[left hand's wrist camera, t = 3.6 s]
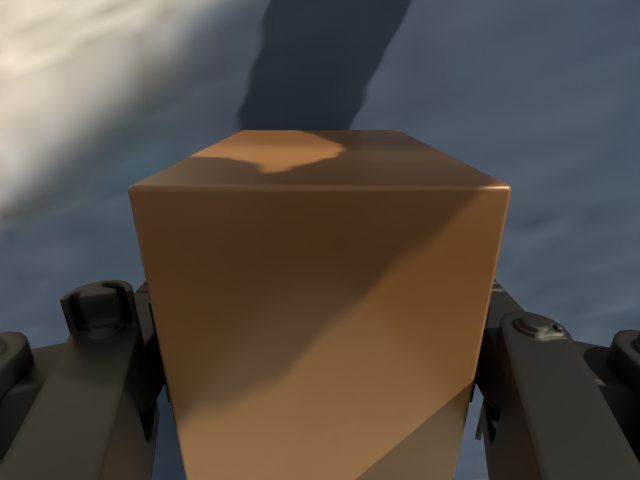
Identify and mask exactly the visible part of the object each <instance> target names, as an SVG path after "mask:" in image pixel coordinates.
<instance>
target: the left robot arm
mask: <svg viewBox="0 0 640 480" xmlns="http://www.w3.org/2000/svg"><path fill="white" fill-rule="evenodd" d="M60 302H61V305H62V309H63V312H64V315H65V319H66V322H67V325H68V328H69V332H70V336H69V338H68V340H67V342H66V343H62V344H57V345H51V346H46V347H41V348H35V349H31V348H30V345H29V343H28V340H27V337H26V336H25V335H23V334H22V333H20V332H11V331H9V332H1V333H0V480H151V477H152V469H153V461H154V454H155V446H156V438H157V430H158V423H159V408H158V403H157V397H158V395H159V393H160V392H161V390H162V388H163V386H164V384H165V388H166V393H167V398H168V402H171V401H170V396H169V391H168V386H167V381H166V376H165V371H164V366H163V361H162V356H161V351H160V346H159V341H158V336H157V332H156V327H155V322H154V317H153V312H152V307H151V302H150V297H149V292H148V287H147V282H146V281H145V282H144V283H143V285H141V286H140V288H139V289H138V290H137V291H136V293H133V289H132V285H131V284H129V283H128V282H125V281H120V280H105V281H100V282H94V283H90V284H87V285H84V286H81V287H78V288H76V289H75V290H73V291H71V292H69V293H67V294H66V295H65V296H64V297H63V298H62V299H61V300H60ZM475 384H477V385H478V387H479V389H480V391H481V393H482V395H483V397H484V399H483V403H482V408H481V413H480V417H479V422H478V426H477V431H476V437H475V439H477V440H481V435H482V432H483V437H484V445H485V453H486V460H487V468H488V476H489V480H640V331H638V330H623V331H620V332H618V333H616V334H615V335H614V338H613V341H612V344H611V346H610V348H609V347H603V346H598V345H593V344H587V343H582V342H577V341H573V339H572V337H571V336H570V334H569V333H568V332H567V330H566V329H565V328H564V327H563V326H561V325H560V324H558V323H557V322H555V321H554V320H551V319H549V318H546V317H544V316H542V315H538V314H534V313H529V312H525V311H524V310H523V309H522V308H521V307H520V306H519V305H518V304H517V303H516V302H515V301H514V300H513V298H512V297H511V296H510V295H509V294H508V293H507V292H504V289H503V288H502V287H501V286H500V284H497V281H496V280H495V279H494V281H493V286H492V292H491V297H490V302H489V307H488V312H487V317H486V322H485V327H484V332H483V337H482V342H481V347H480V352H479V357H478V362H477V367H476V372H475V377H474V382H473V387H472V392H471V397H470V402H472V399H473V394H474V389H475Z"/></svg>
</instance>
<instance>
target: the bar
mask: <svg viewBox="0 0 640 480" xmlns="http://www.w3.org/2000/svg"><path fill="white" fill-rule="evenodd" d="M510 196H511V187H510V186H509V185H507V184H505V183H503V182H501V181H499V180H497V179H495V178H493V177H491V176H489V175H487V174H485V173H483V172H481V171H479V170H477V169H475V168H473V167H471V166H469V165H467V164H465V163H463V162H461V161H459V160H457V159H455V158H453V157H451V156H449V155H447V154H445V153H443V152H441V151H439V150H437V149H435V148H432V147H430V146H428V145H426V144H424V143H422V142H420V141H418V140H416V139H414V138H412V137H410V136H408V135H406V134H404V133H402V132H400V131H398V130H242V131H240V132H238V133H236V134H234V135H232V136H230V137H228V138H226V139H224V140H222V141H220V142H218V143H216V144H214V145H212V146H210V147H208V148H206V149H204V150H202V151H200V152H198V153H196V154H194V155H192V156H190V157H188V158H186V159H184V160H182V161H180V162H178V163H176V164H174V165H172V166H170V167H168V168H166V169H164V170H162V171H160V172H158V173H156V174H154V175H152V176H149V177H147V178H145V179H143V180H141V181H139V182H137V183H135V184H133V185H131V186H130V187H129V197H130V202H131V207H132V212H133V217H134V222H135V227H136V232H137V237H138V242H139V247H140V252H141V257H142V262H143V267H144V272H145V277H146V282H147V287H148V292H149V297H150V302H151V307H152V312H153V317H154V322H155V327H156V332H157V336H158V341H159V346H160V351H161V356H162V361H163V366H164V371H165V376H166V381H167V386H168V391H169V396H170V401H171V406H172V411H173V416H174V421H175V426H176V431H177V436H178V441H179V446H180V451H181V456H182V461H183V466H184V471H185V476H186V480H454V477H455V472H456V467H457V462H458V457H459V452H460V447H461V442H462V437H463V432H464V427H465V422H466V417H467V412H468V407H469V402H470V397H471V392H472V387H473V382H474V377H475V372H476V367H477V362H478V357H479V352H480V347H481V342H482V337H483V332H484V327H485V322H486V317H487V312H488V307H489V302H490V297H491V292H492V286H493V281H494V276H495V271H496V266H497V261H498V256H499V251H500V246H501V241H502V236H503V231H504V226H505V221H506V216H507V211H508V206H509V201H510Z"/></svg>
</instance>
